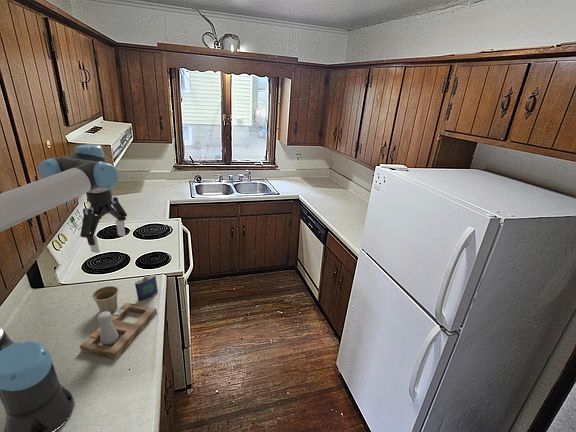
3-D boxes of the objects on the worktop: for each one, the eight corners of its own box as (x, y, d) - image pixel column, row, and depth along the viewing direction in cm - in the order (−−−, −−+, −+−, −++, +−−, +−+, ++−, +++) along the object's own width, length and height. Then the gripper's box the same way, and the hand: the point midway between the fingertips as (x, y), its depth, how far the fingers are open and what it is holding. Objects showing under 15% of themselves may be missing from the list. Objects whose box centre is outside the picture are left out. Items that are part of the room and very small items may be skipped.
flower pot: (123, 300, 133) (119, 284, 129) (120, 314, 125) (116, 297, 121) (98, 304, 130) (94, 288, 126) (94, 319, 122) (89, 302, 118)
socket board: (116, 358, 105) (114, 352, 104) (81, 351, 107) (79, 345, 106) (156, 312, 127) (156, 307, 126) (126, 307, 129) (125, 301, 128)
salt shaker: (111, 350, 108) (104, 321, 103) (97, 347, 109) (90, 318, 104) (123, 337, 114) (116, 310, 108) (109, 335, 114) (102, 307, 109)
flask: (156, 289, 141) (153, 270, 136) (159, 292, 139) (156, 272, 135) (136, 299, 134) (133, 279, 129) (140, 302, 132) (136, 282, 128)
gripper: (78, 202, 94) (92, 261, 103) (131, 181, 117) (139, 230, 125) (57, 200, 96) (73, 258, 104) (114, 179, 118) (123, 228, 127)
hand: (109, 243), depth 115 cm, fingers open, 13 cm apart
